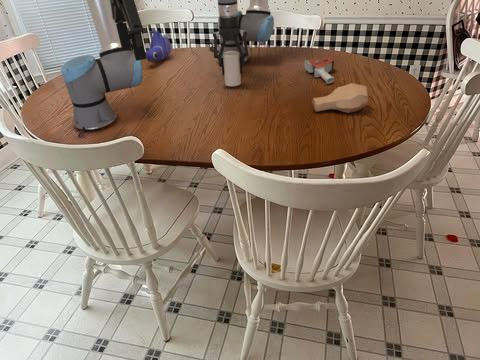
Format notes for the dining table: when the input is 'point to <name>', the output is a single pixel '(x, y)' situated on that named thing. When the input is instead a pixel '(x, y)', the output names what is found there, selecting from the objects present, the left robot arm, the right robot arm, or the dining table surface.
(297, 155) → the dining table surface
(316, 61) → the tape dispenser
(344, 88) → the squash
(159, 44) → the toy
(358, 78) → the dining table surface
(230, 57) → the can
